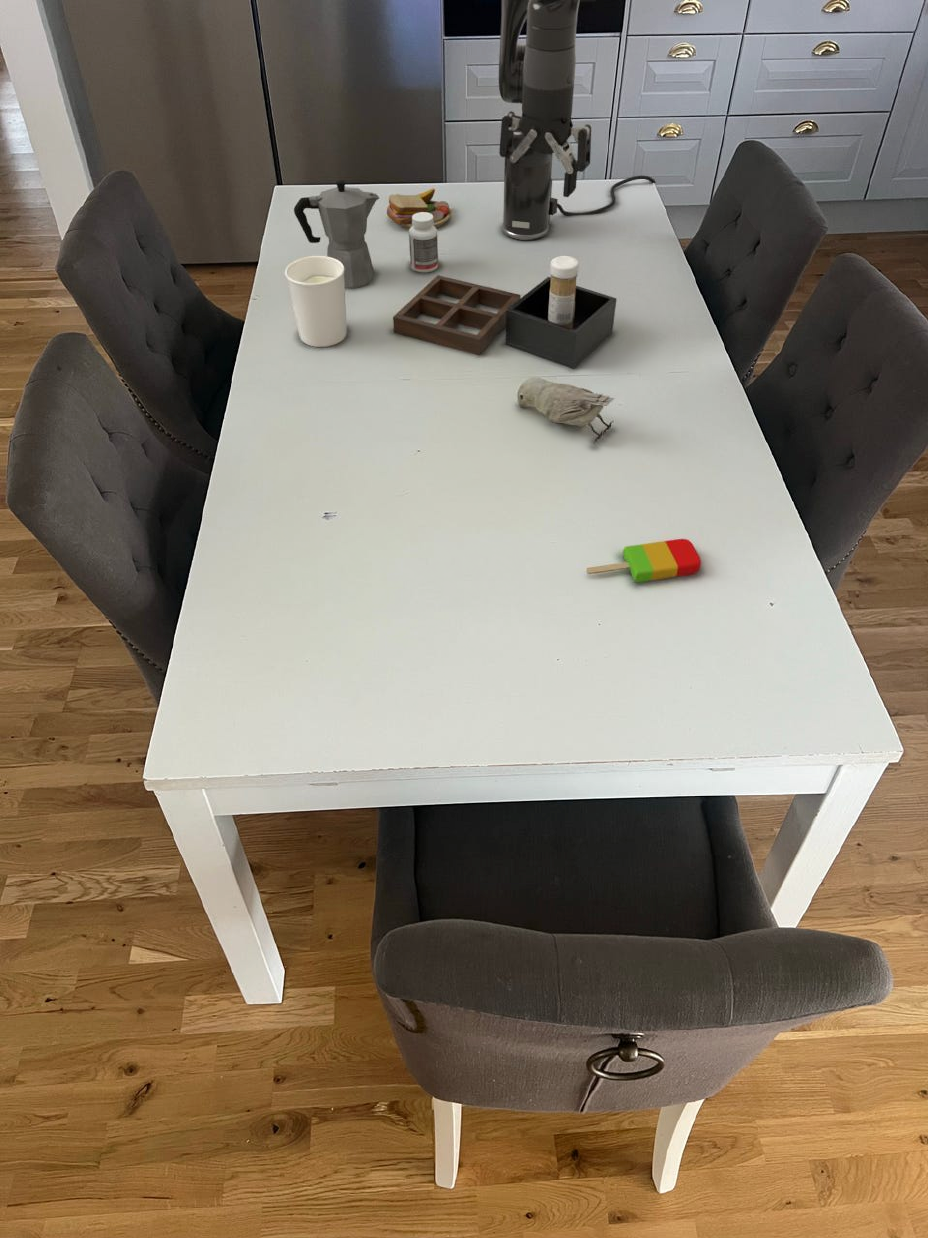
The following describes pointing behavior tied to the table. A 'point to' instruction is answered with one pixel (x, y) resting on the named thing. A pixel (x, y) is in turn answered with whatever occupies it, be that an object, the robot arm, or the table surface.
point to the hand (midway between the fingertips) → (542, 190)
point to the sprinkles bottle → (562, 290)
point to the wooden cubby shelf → (455, 314)
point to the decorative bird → (564, 402)
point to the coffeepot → (343, 228)
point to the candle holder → (318, 299)
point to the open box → (554, 340)
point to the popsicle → (656, 560)
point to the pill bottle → (423, 243)
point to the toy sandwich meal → (417, 208)
